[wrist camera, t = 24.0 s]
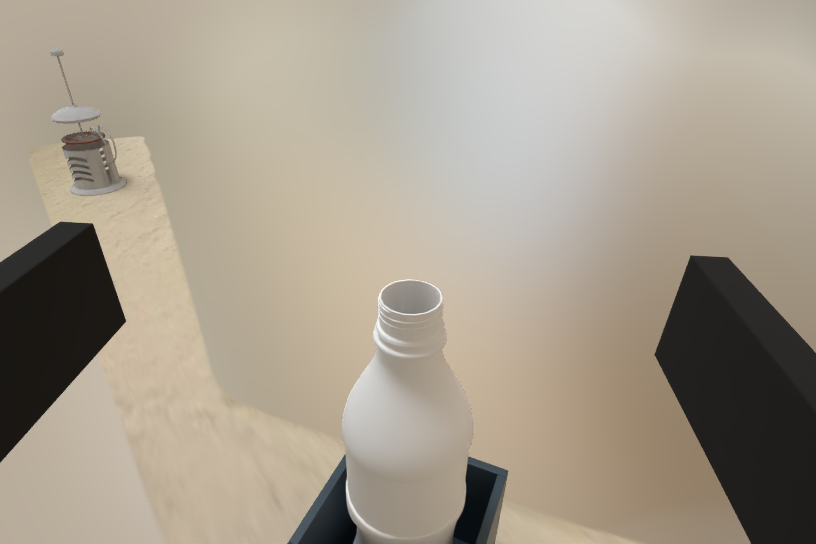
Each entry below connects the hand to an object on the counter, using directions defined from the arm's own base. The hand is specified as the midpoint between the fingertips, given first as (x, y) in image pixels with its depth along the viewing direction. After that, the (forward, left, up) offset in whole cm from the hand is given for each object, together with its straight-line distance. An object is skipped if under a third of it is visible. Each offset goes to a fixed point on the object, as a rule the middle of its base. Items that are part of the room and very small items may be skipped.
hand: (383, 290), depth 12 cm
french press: (+54, +87, -33) cm, 108 cm away
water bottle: (+9, +3, -32) cm, 33 cm away
